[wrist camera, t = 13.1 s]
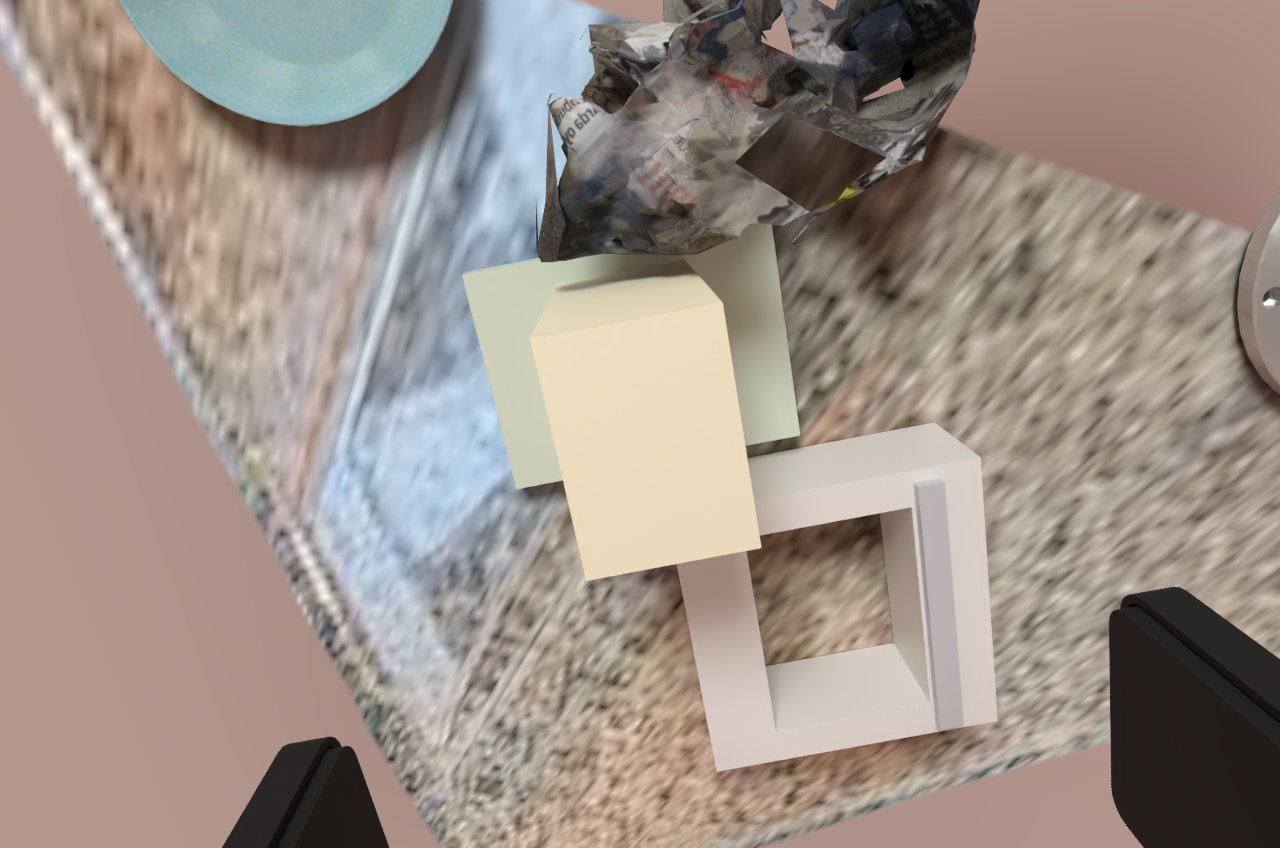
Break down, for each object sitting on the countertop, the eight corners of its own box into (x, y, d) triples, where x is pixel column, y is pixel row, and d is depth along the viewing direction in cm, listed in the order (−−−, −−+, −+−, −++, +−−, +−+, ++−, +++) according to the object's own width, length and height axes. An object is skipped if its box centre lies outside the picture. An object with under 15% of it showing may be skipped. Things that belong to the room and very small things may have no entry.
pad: (764, 213, 32) (770, 214, 30) (793, 426, 34) (800, 435, 33) (467, 271, 32) (461, 274, 31) (519, 478, 35) (516, 489, 33)
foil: (1003, 230, 29) (675, 293, 21) (789, 216, 37) (496, 257, 30) (1042, -151, 25) (654, -250, 17) (792, -71, 33) (455, -113, 26)
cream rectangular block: (684, 259, 31) (723, 302, 20) (713, 429, 33) (761, 547, 22) (557, 284, 31) (529, 340, 20) (594, 452, 33) (586, 580, 23)
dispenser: (934, 422, 34) (986, 462, 30) (953, 659, 38) (1002, 729, 33) (660, 474, 35) (668, 521, 30) (704, 704, 38) (718, 780, 33)
